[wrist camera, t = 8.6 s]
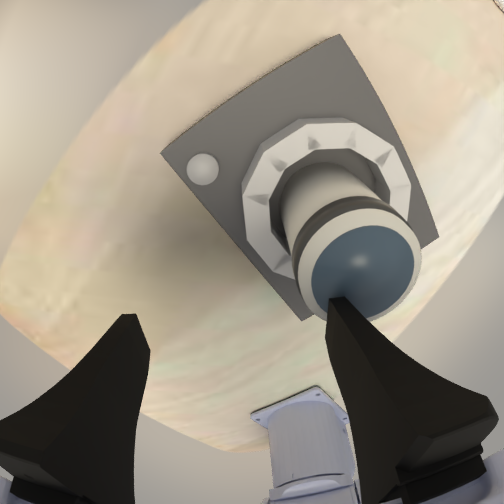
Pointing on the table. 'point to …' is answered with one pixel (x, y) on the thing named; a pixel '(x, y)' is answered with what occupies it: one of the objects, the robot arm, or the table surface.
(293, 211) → the lens
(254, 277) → the table surface
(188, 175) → the camera body
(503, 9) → the candle
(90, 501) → the robot arm
